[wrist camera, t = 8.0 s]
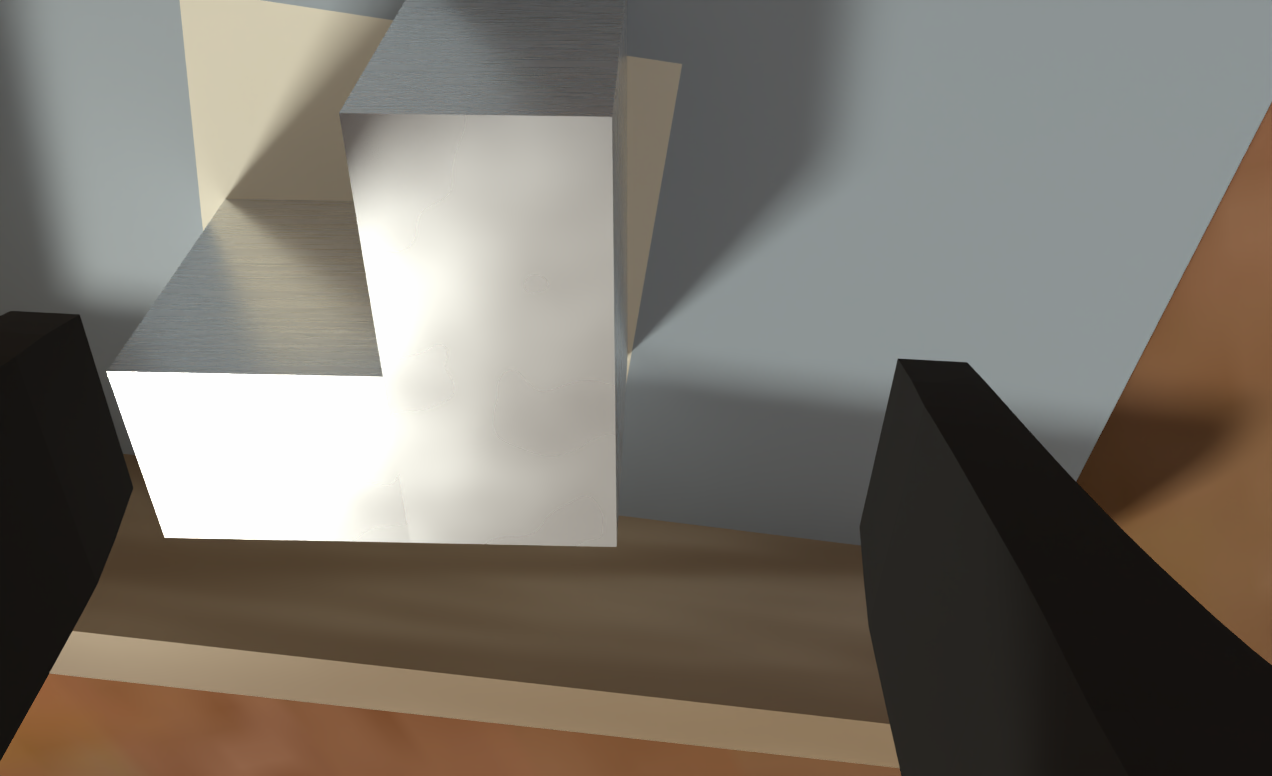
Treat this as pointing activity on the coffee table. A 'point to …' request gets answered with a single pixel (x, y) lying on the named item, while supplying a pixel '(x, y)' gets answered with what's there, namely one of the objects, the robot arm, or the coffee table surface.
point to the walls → (509, 631)
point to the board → (708, 202)
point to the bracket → (414, 307)
